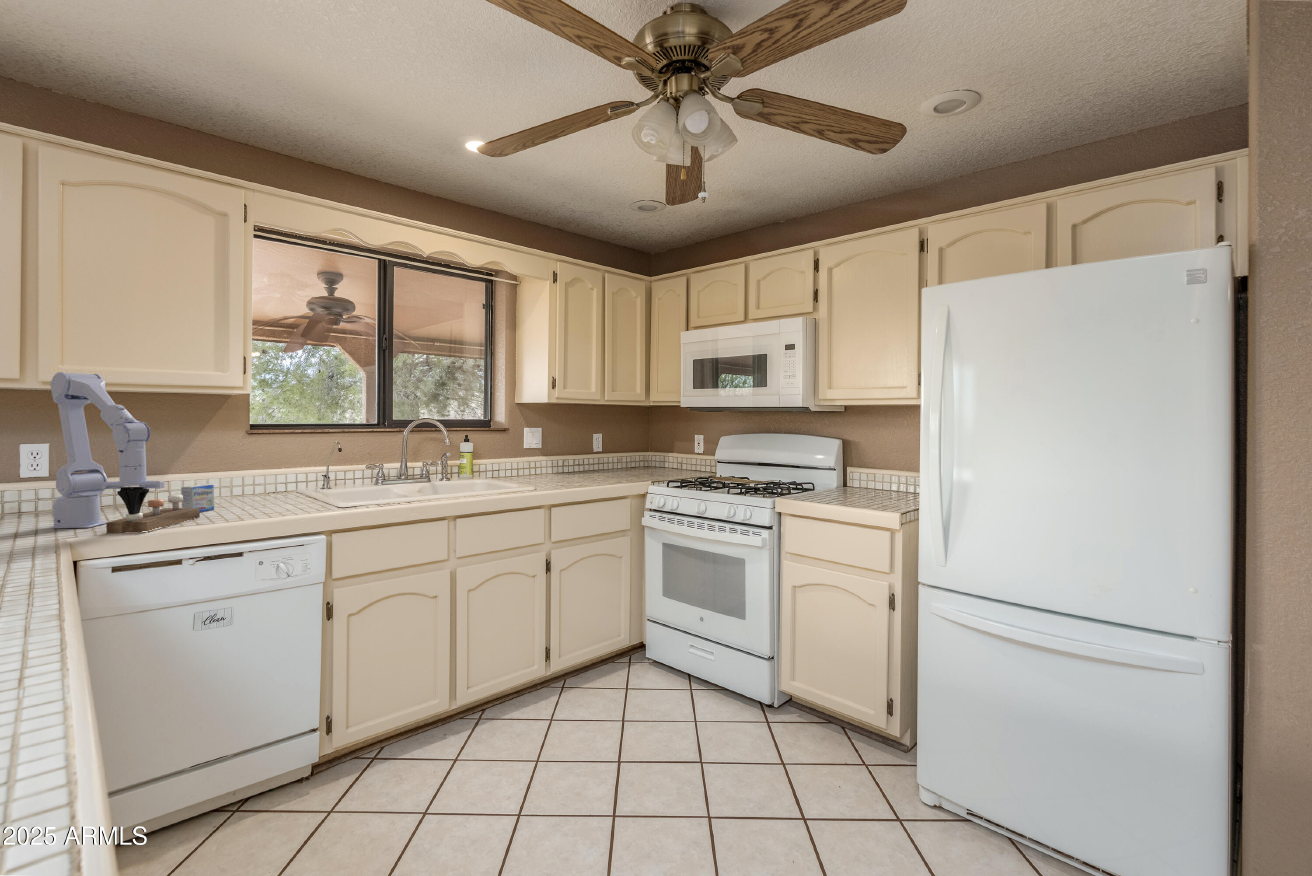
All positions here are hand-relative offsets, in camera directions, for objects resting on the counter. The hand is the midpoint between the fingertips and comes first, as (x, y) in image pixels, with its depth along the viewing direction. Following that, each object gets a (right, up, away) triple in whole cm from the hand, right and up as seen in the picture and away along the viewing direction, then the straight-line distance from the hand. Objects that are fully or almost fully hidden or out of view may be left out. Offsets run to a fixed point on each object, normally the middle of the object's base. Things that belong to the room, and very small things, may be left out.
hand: (134, 514), depth 169 cm
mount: (-1, -4, +9) cm, 10 cm away
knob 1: (0, -4, 0) cm, 4 cm away
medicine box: (-7, -3, +33) cm, 33 cm away
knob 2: (-3, -1, +18) cm, 18 cm away
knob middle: (-1, -1, +9) cm, 9 cm away
